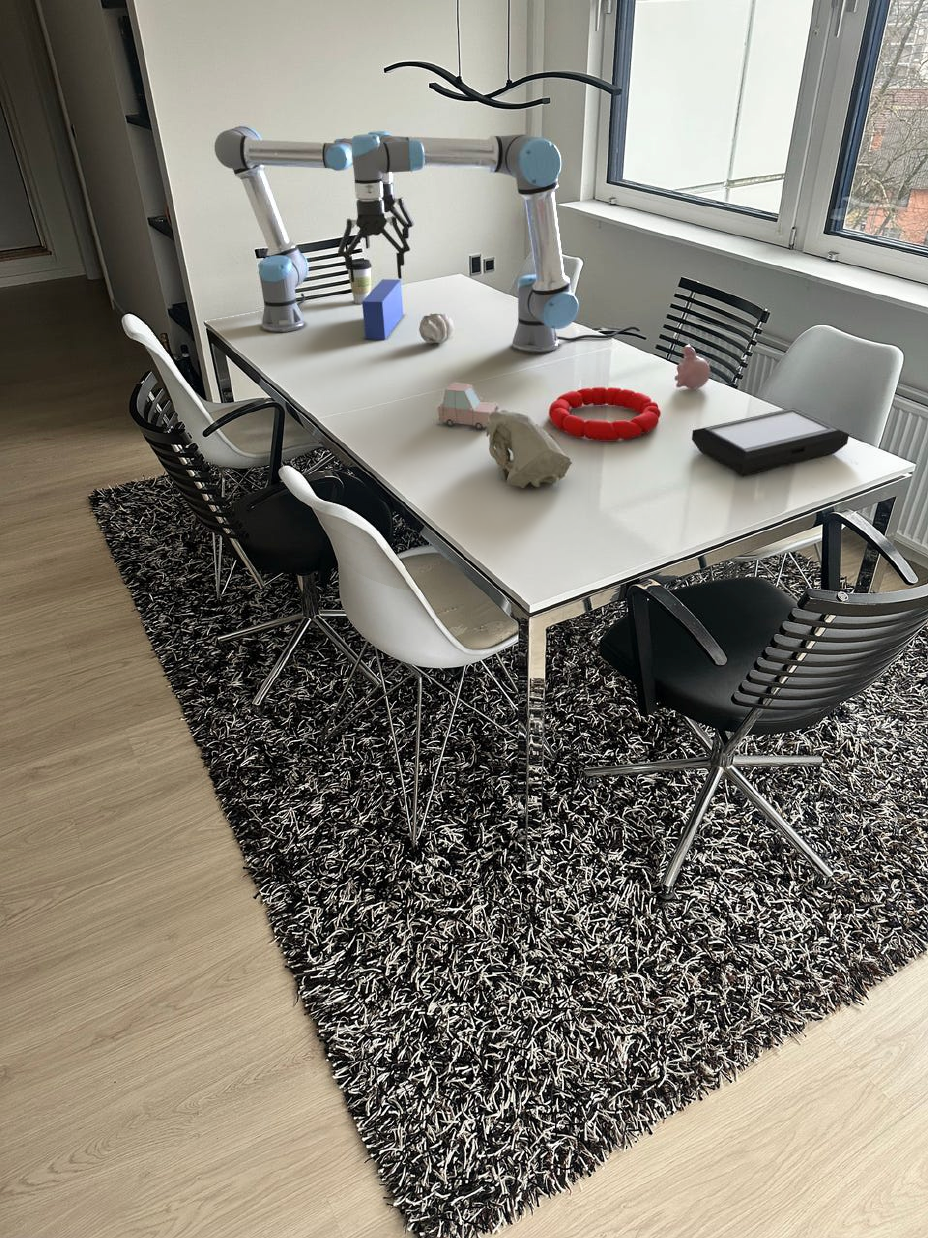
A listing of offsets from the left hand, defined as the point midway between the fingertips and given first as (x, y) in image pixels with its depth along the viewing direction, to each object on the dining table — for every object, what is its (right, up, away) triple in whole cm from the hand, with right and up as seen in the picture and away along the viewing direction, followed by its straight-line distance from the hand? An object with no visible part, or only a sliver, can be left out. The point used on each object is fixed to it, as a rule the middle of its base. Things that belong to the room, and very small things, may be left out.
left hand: (386, 247), depth 318 cm
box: (-1, -27, +5) cm, 27 cm away
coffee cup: (-12, -7, +33) cm, 36 cm away
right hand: (+2, -35, -62) cm, 72 cm away
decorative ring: (+66, -79, -74) cm, 127 cm away
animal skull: (+42, -96, -98) cm, 143 cm away
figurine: (+95, -65, -55) cm, 127 cm away
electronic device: (+104, -91, -94) cm, 167 cm away
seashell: (+19, -38, -13) cm, 44 cm away
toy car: (+29, -79, -72) cm, 111 cm away
